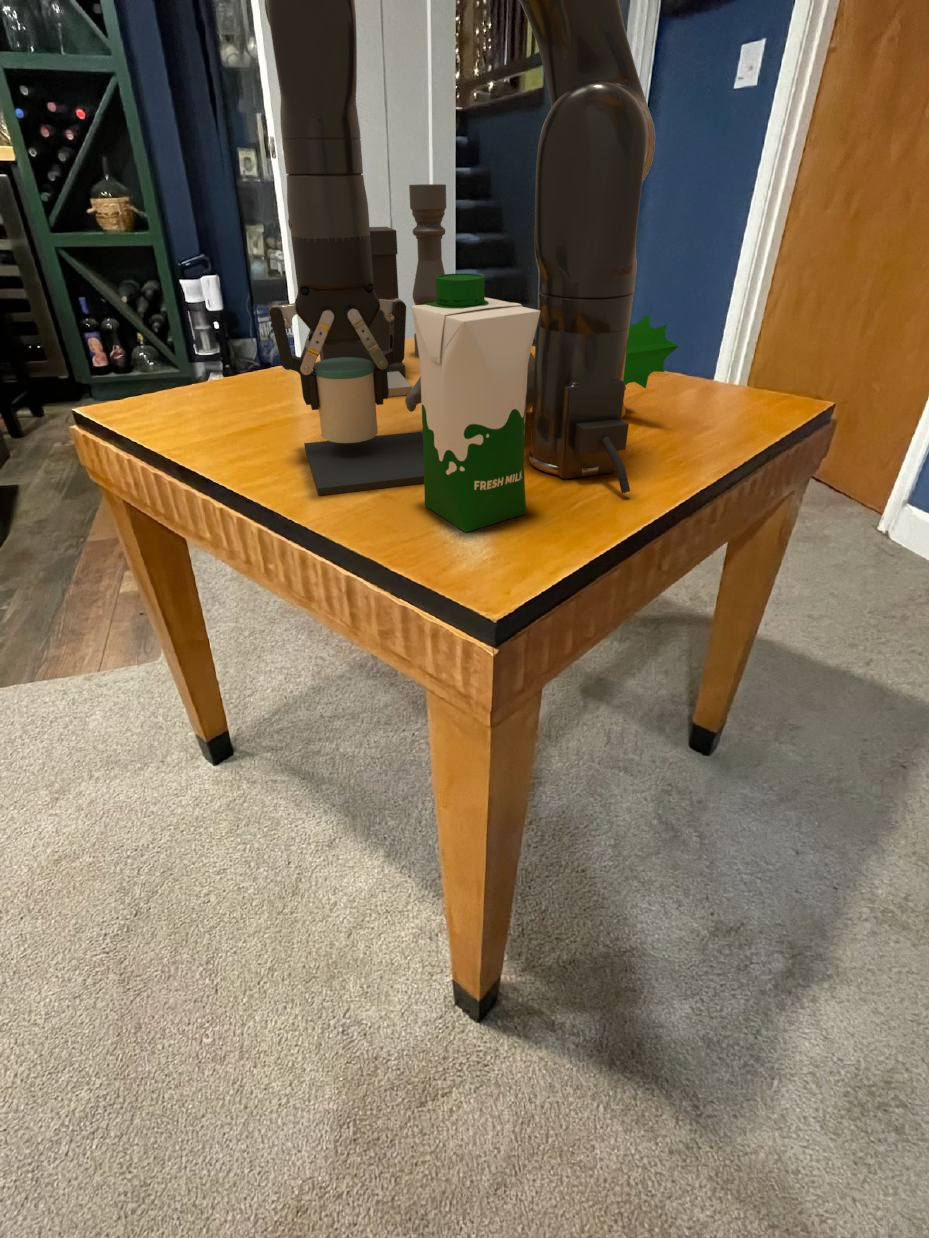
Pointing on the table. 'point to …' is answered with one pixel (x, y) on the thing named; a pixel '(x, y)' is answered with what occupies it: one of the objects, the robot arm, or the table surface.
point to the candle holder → (427, 240)
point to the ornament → (645, 352)
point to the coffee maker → (380, 327)
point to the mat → (367, 463)
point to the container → (346, 399)
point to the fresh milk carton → (473, 401)
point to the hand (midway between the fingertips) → (347, 405)
